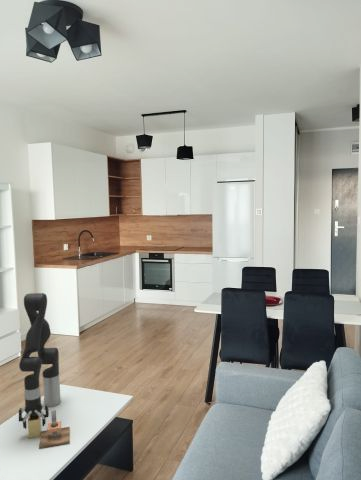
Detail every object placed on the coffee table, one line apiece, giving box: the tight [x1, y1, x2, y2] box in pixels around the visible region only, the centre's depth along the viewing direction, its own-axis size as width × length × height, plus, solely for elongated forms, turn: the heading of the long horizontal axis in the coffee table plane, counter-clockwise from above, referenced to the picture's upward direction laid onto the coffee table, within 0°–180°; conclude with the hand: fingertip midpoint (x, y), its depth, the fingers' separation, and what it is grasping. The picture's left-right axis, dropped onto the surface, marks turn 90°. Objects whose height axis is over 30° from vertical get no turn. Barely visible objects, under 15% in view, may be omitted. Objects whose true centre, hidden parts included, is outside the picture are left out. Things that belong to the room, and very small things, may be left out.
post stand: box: [38, 410, 71, 450], centre depth 203 cm, size 14×14×14 cm
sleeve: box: [27, 415, 42, 439], centre depth 207 cm, size 6×6×9 cm
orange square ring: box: [46, 420, 62, 433], centre depth 203 cm, size 6×6×2 cm
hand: (34, 426), depth 207 cm, fingers open, 8 cm apart
